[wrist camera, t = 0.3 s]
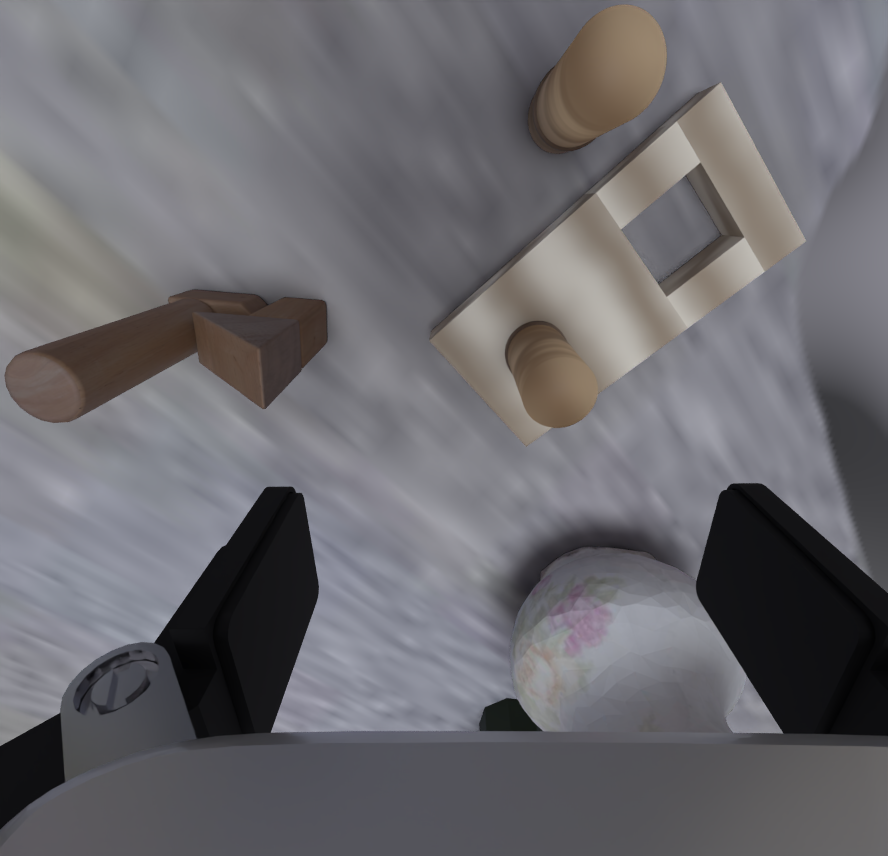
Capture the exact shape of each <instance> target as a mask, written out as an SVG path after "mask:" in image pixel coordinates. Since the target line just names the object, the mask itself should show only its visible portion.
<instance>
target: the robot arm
mask: <svg viewBox="0 0 888 856" xmlns="http://www.w3.org/2000/svg"><path fill="white" fill-rule="evenodd" d="M318 592H319V584H318V578H317V572H316V566H315V560H314V554H313V549H312V543H311V537H310V531H309V525H308V519H307V513H306V508H305V502H304V497H303V495H302V493H296V491H295V489H294V488H293V487H266V488H265V489H264V491H263V492H262V493H261V495H260V496H259V498H258V499H257V501H256V502H255V504H254V505H253V507H252V508H251V510H250V511H249V512H248V514H247V515H246V517H245V518H244V520H243V521H242V523H241V524H240V526H239V527H238V529H237V530H236V531H235V533H234V534H233V536H232V537H231V539H230V540H229V542H228V543H227V545H226V546H223V547H222V548H221V549H220V550H219V551H218V552H217V553H216V555H215V556H214V558H213V559H212V561H211V562H210V563H209V565H208V566H207V568H206V569H205V571H204V572H203V573H202V575H201V576H200V578H199V579H198V581H197V582H196V584H195V585H194V586H193V588H192V589H191V591H190V592H189V594H188V595H187V596H186V598H185V599H184V601H183V602H182V604H181V605H180V607H179V608H178V609H177V611H176V612H175V614H174V615H173V617H172V618H171V619H170V621H169V622H168V624H167V625H166V627H165V628H164V630H163V631H162V632H161V634H160V635H159V637H158V638H157V640H156V641H155V642H154V643H147V642H140V643H135V644H129V645H125V646H123V647H120V648H117V649H115V650H112V651H110V652H108V653H107V654H105V655H103V656H101V657H99V658H98V659H96V660H95V661H93V662H92V663H91V664H90V665H88V666H87V667H86V668H84V669H83V670H82V671H81V672H80V673H79V674H78V675H77V676H76V677H75V679H74V680H73V681H72V682H71V683H70V684H69V686H68V688H67V690H66V692H65V693H64V695H63V697H62V702H61V708H60V713H59V714H57V715H56V716H54V717H52V718H50V719H48V720H47V721H45V722H43V723H41V724H39V725H38V726H36V727H34V728H32V729H30V730H29V731H27V732H25V733H23V734H21V735H20V736H18V737H16V738H14V739H12V740H11V741H9V742H7V743H5V744H3V745H2V746H0V856H888V593H887V592H886V591H885V590H884V589H882V588H881V587H880V586H879V585H878V584H877V583H876V582H874V581H873V580H872V579H871V578H870V577H869V576H868V575H866V574H865V573H864V572H863V571H862V570H861V569H860V568H858V567H857V566H856V565H855V564H854V563H853V562H852V561H850V560H849V559H848V558H847V557H846V556H845V555H844V554H843V553H841V552H840V551H839V550H838V549H837V548H836V547H835V546H833V545H832V544H831V543H830V542H829V541H828V540H827V539H825V538H824V537H823V536H822V535H821V534H820V533H819V532H817V531H816V530H815V529H814V528H813V527H812V526H811V525H809V524H808V523H807V522H806V521H805V520H804V519H803V518H801V517H800V516H799V515H798V514H797V513H796V512H795V511H793V510H792V509H791V508H790V507H789V506H788V505H787V504H785V503H784V502H783V501H782V500H781V499H780V498H779V497H777V496H776V495H775V494H774V493H773V492H772V491H771V490H769V489H768V488H767V487H766V486H764V485H763V484H759V483H739V484H731V485H730V486H729V487H728V488H727V490H724V491H722V492H721V493H720V495H719V499H718V502H717V506H716V510H715V514H714V517H713V521H712V525H711V529H710V532H709V536H708V540H707V544H706V547H705V551H704V555H703V559H702V562H701V566H700V570H699V574H698V577H697V581H696V593H697V596H698V599H699V601H700V602H701V604H702V606H703V607H704V609H705V610H706V612H707V613H708V615H709V617H710V618H711V620H712V621H713V623H714V625H715V626H716V628H717V629H718V631H719V632H720V634H721V636H722V637H723V639H724V640H725V642H726V643H727V645H728V647H729V648H730V650H731V651H732V653H733V654H734V656H735V658H736V659H737V661H738V662H739V664H740V666H741V667H742V669H743V670H744V672H745V673H746V675H747V677H748V678H749V680H750V681H751V683H752V684H753V686H754V688H755V689H756V691H757V692H758V694H759V695H760V697H761V699H762V700H763V702H764V703H765V705H766V707H767V708H768V710H769V711H770V713H771V714H772V716H773V718H774V719H775V721H776V722H777V724H778V725H779V727H780V729H781V730H782V732H783V733H784V734H778V733H692V732H551V731H340V732H284V733H271V730H272V727H273V724H274V722H275V719H276V716H277V713H278V710H279V707H280V705H281V702H282V699H283V696H284V693H285V690H286V687H287V685H288V682H289V679H290V676H291V673H292V670H293V668H294V665H295V662H296V659H297V656H298V653H299V650H300V648H301V645H302V642H303V639H304V636H305V633H306V631H307V628H308V625H309V622H310V619H311V616H312V614H313V611H314V608H315V605H316V602H317V599H318Z"/></svg>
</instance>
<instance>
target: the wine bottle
mask: <svg viewBox="0 0 888 856" xmlns="http://www.w3.org/2000/svg"><path fill="white" fill-rule="evenodd" d="M479 726H480V731H543V730H542V729H540V728H539V727H538V726H537V725H536V724H535V723H534V722H533V721H532V720H531V718H530V717H529V716H528V714H527V713H526V712H525V711H524V709H523V708H522V706H521V705H520V703H519V701H518V700H515V699H508V698H507V699H504V700H502V701H500V702H497V703H495V704H492V705H490V706H488V707H485V709H484V712H483V715H482V718H481V721H480V723H479Z"/></svg>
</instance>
